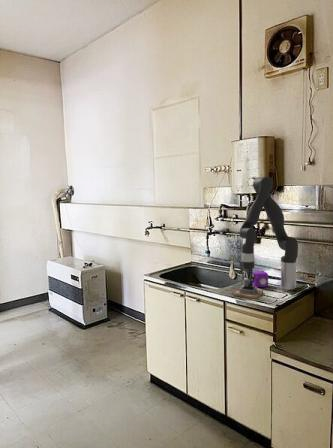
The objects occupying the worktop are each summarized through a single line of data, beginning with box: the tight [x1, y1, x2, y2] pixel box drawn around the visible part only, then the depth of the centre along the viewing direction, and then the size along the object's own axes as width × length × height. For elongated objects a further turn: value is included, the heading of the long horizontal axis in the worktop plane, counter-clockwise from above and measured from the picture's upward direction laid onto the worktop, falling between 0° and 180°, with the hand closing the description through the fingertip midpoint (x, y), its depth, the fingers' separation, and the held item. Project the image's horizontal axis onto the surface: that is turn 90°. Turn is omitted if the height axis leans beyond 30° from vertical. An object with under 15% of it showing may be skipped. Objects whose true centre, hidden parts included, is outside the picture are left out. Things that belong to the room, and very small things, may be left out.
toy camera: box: [252, 269, 269, 288], centre depth 227 cm, size 11×14×10 cm
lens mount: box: [232, 285, 264, 300], centre depth 211 cm, size 14×14×4 cm
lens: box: [243, 277, 253, 290], centre depth 210 cm, size 5×5×7 cm
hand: (248, 287), depth 211 cm, fingers closed on lens, 5 cm apart
